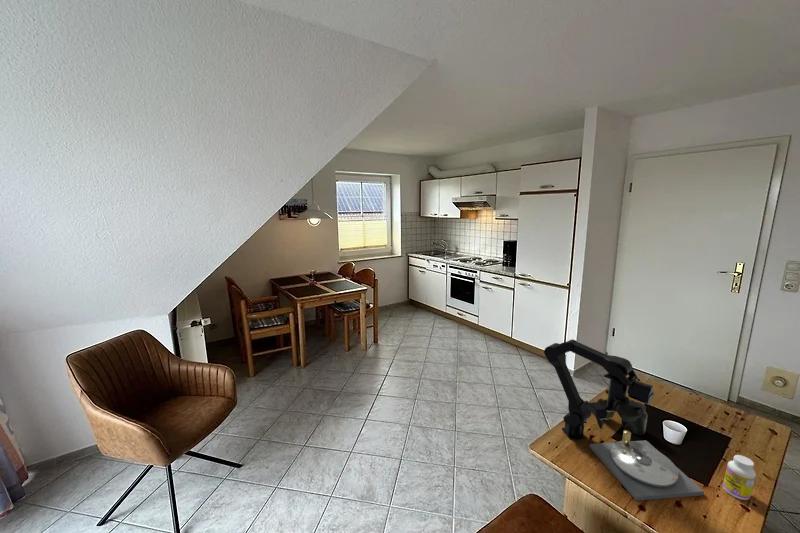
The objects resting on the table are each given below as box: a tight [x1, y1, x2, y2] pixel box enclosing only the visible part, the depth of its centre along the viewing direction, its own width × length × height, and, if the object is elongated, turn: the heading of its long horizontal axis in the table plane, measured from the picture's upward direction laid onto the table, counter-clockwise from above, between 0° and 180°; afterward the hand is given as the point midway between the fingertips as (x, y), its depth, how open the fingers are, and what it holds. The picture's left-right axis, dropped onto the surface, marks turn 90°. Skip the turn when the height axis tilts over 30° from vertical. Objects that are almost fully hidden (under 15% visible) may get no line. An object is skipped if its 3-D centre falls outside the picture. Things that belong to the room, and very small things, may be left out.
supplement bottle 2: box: [722, 454, 757, 501], centre depth 111 cm, size 7×7×13 cm
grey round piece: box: [610, 429, 678, 488], centre depth 121 cm, size 20×20×7 cm
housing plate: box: [589, 439, 705, 502], centre depth 122 cm, size 24×24×2 cm
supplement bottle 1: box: [625, 401, 648, 436], centre depth 142 cm, size 7×7×12 cm
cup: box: [596, 398, 616, 422], centre depth 149 cm, size 8×7×8 cm
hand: (612, 428), depth 128 cm, fingers open, 9 cm apart
